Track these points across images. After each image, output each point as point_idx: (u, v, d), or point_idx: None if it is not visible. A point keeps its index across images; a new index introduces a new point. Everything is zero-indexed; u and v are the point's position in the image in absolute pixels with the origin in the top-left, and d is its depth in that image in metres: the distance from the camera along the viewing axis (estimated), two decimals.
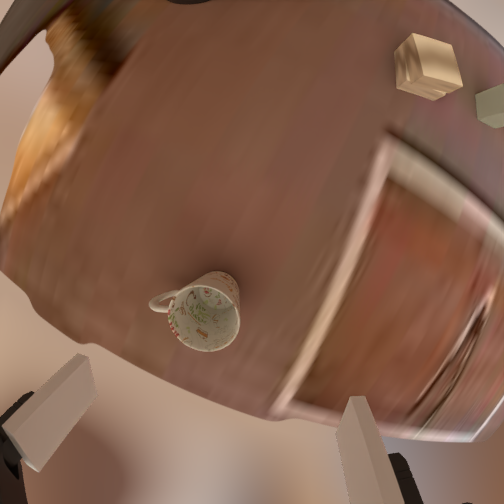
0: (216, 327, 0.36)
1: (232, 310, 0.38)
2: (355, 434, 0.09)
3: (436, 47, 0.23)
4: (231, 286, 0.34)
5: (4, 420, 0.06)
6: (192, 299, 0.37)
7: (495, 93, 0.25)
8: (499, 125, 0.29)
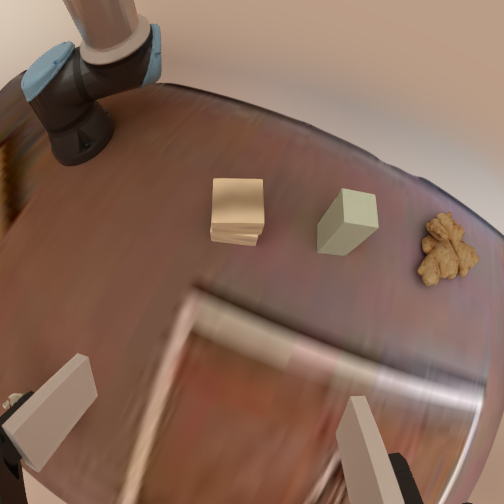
0: None
1: None
2: (355, 434, 0.09)
3: (239, 187, 0.39)
4: None
5: (4, 420, 0.06)
6: None
7: (328, 216, 0.41)
8: (345, 251, 0.43)
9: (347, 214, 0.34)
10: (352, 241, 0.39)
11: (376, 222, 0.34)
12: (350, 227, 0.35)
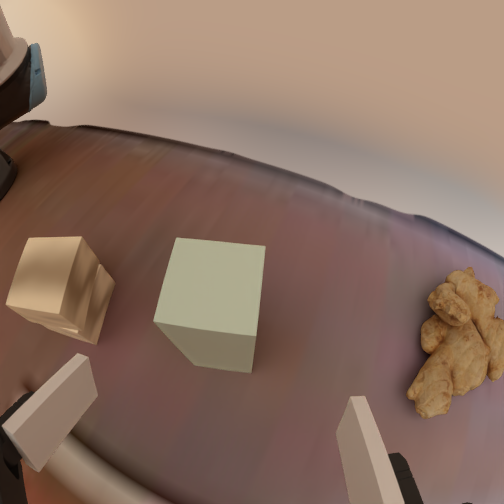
0: None
1: None
2: (355, 434, 0.09)
3: (49, 251, 0.20)
4: None
5: (4, 420, 0.06)
6: None
7: None
8: (241, 367, 0.21)
9: (167, 301, 0.13)
10: (230, 356, 0.17)
11: (252, 321, 0.13)
12: (185, 333, 0.14)
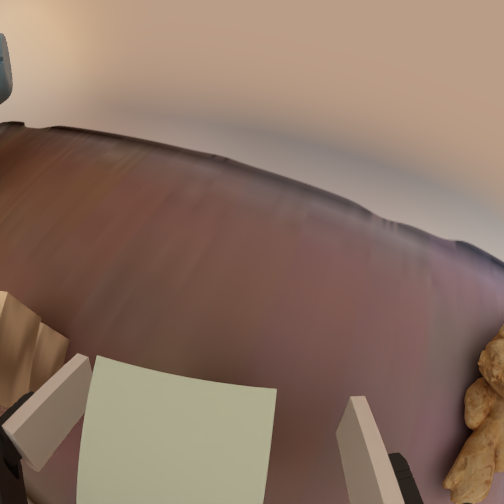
0: None
1: None
2: (355, 434, 0.09)
3: None
4: None
5: (4, 420, 0.06)
6: None
7: None
8: None
9: (90, 481, 0.05)
10: None
11: None
12: None
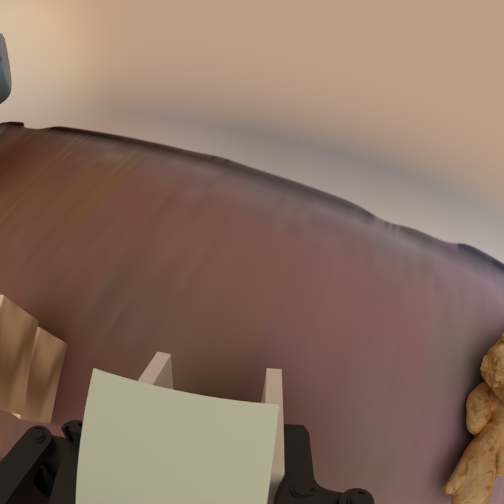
0: None
1: None
2: (264, 402, 0.12)
3: None
4: None
5: None
6: None
7: None
8: None
9: (90, 495, 0.04)
10: None
11: None
12: None
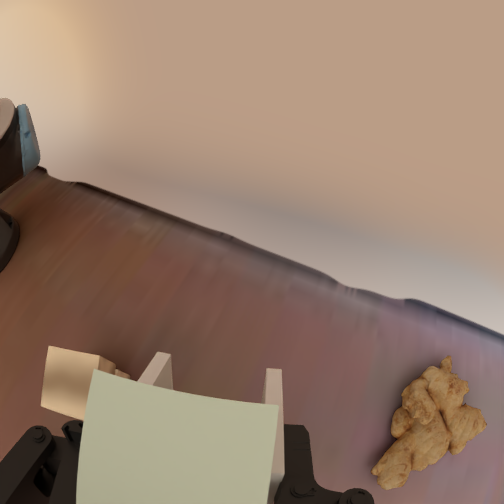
0: None
1: None
2: (264, 402, 0.12)
3: (71, 364, 0.22)
4: None
5: None
6: None
7: None
8: None
9: (90, 495, 0.04)
10: None
11: None
12: None
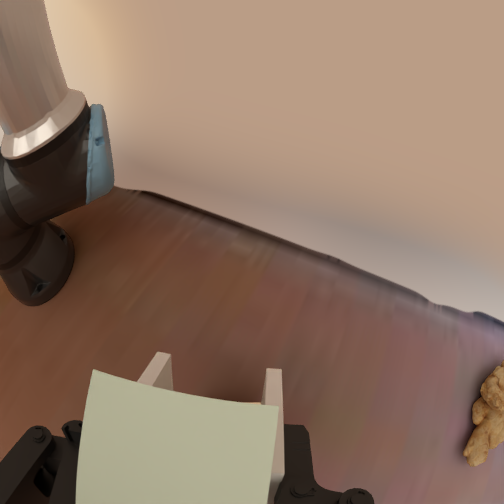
0: None
1: None
2: (264, 402, 0.12)
3: None
4: None
5: None
6: None
7: None
8: None
9: (90, 496, 0.04)
10: None
11: None
12: None
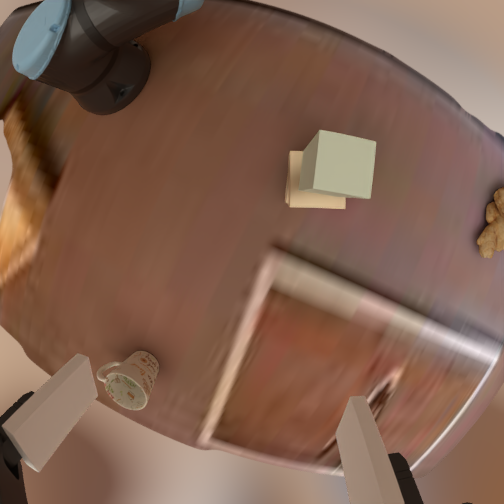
0: (141, 391, 0.45)
1: None
2: (355, 434, 0.09)
3: None
4: (145, 369, 0.44)
5: (4, 420, 0.06)
6: None
7: (308, 154, 0.27)
8: None
9: (320, 176, 0.22)
10: (338, 195, 0.27)
11: (368, 189, 0.22)
12: (326, 191, 0.23)
